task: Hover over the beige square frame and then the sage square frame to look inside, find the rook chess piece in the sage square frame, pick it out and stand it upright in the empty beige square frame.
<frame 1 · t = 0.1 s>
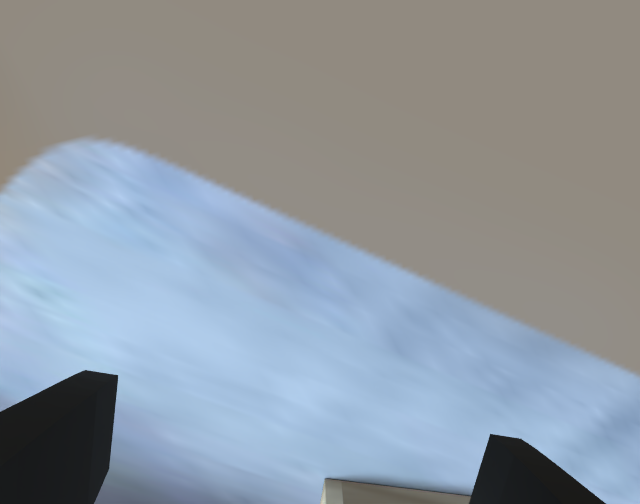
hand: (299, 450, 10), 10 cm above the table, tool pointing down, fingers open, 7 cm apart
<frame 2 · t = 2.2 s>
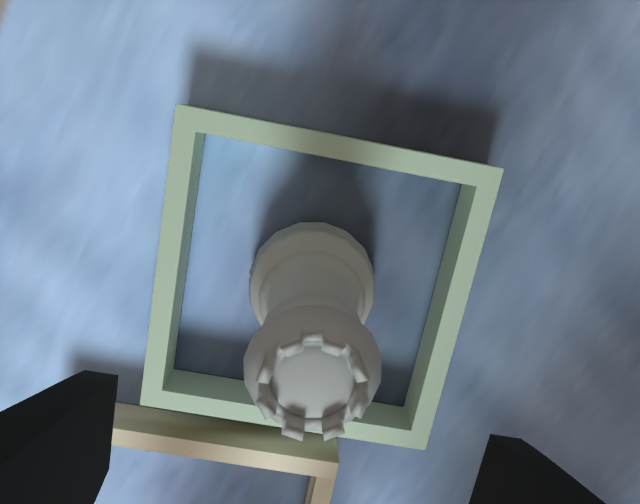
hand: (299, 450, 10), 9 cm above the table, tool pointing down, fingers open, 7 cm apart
rook chess piece: (311, 276, 19), resting in sage square frame
sage square frame: (311, 278, 19), on the table
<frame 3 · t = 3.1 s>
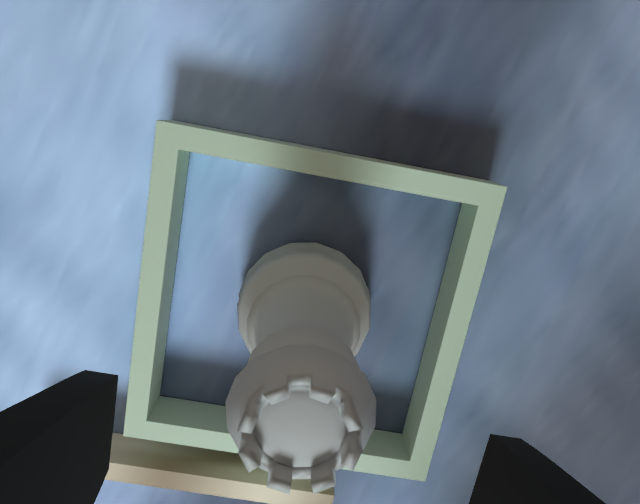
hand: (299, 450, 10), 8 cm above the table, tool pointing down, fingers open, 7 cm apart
rook chess piece: (304, 298, 18), resting in sage square frame
sage square frame: (304, 301, 18), on the table
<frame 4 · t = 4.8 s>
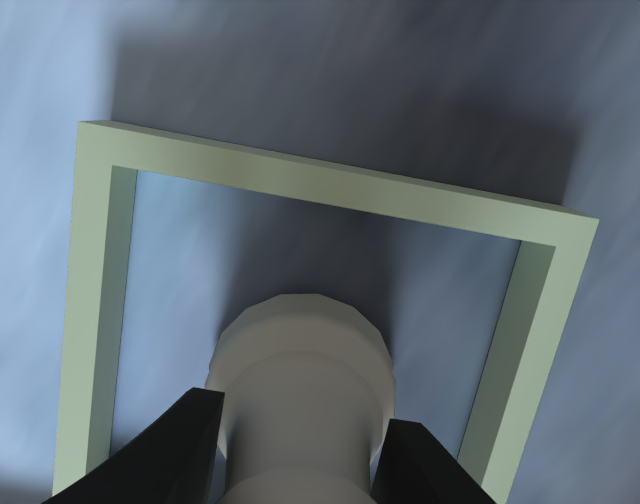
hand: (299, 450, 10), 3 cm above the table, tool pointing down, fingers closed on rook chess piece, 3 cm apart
rook chess piece: (301, 366, 13), resting in sage square frame, touching gripper
sage square frame: (301, 370, 13), on the table
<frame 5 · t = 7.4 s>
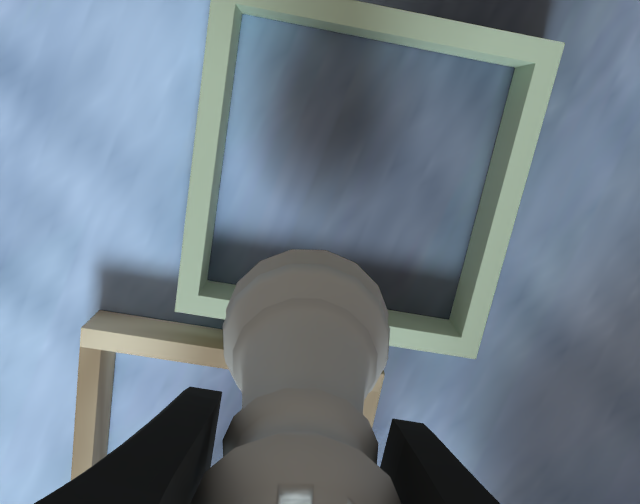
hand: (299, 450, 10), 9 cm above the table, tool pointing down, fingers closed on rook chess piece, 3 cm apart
rook chess piece: (307, 314, 15), point 4 cm above the table, touching gripper
beige square frame: (223, 452, 21), on the table
sage square frame: (353, 178, 18), on the table
when the fingers open (4 cm above the table, at t = 10.0 s): rook chess piece stays where it is, resting in beige square frame.
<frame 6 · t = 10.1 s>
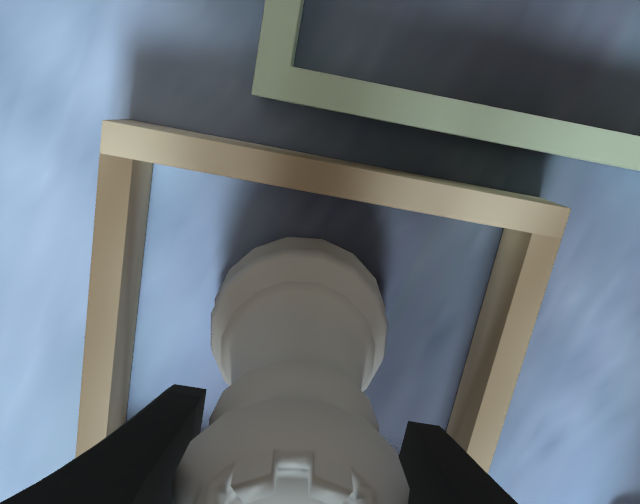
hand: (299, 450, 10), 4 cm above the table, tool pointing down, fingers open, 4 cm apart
rook chess piece: (300, 310, 14), resting in beige square frame
beige square frame: (302, 349, 14), on the table
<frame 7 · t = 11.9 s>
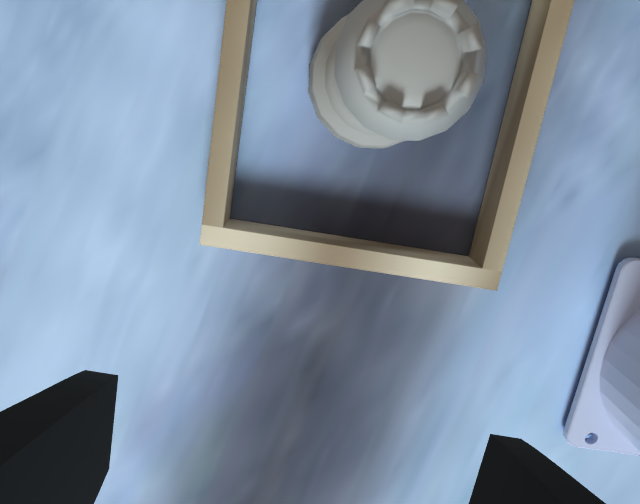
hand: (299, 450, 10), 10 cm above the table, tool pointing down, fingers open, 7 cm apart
rook chess piece: (371, 82, 18), resting in beige square frame
beige square frame: (374, 113, 18), on the table
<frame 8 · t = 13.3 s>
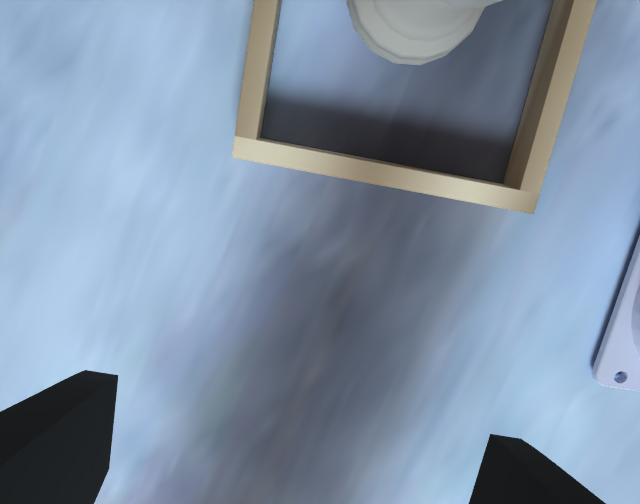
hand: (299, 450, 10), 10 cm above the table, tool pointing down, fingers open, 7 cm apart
beige square frame: (412, 29, 18), on the table
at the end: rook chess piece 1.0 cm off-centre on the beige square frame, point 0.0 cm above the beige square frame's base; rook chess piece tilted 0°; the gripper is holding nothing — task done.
